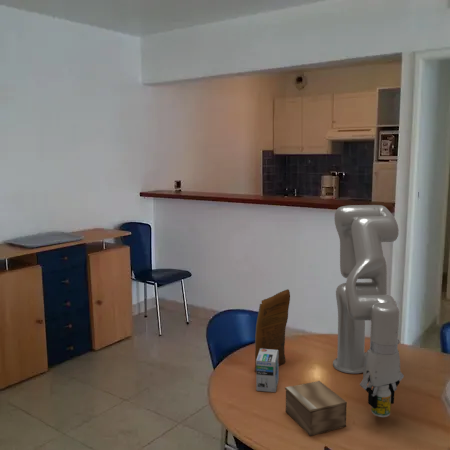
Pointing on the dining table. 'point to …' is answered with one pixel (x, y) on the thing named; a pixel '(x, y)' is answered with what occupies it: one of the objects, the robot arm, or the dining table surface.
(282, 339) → the pancake mix bag
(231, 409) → the dining table surface
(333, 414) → the wooden box
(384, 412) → the supplement bottle
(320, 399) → the lid
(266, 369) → the light bulb box
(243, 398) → the dining table surface
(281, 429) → the dining table surface
